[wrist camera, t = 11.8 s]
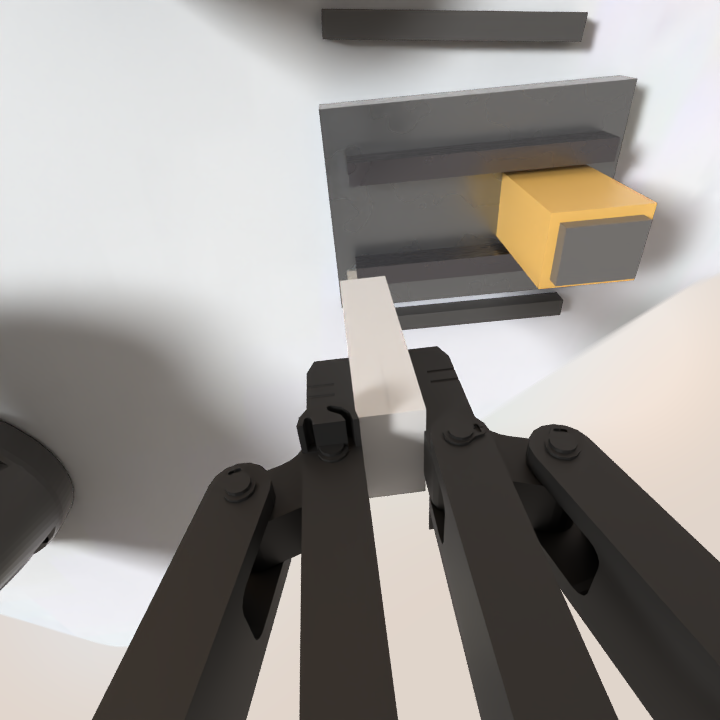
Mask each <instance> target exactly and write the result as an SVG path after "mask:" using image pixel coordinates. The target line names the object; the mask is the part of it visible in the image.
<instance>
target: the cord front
mask: <svg viewBox="0 0 720 720" xmlns="http://www.w3.org/2000/svg"><path fill="white" fill-rule="evenodd" d="M587 15H588V12H523V11H445V10H367V9H322V33H323V39H351V40H457V41H562V42H581V40H582V36H583V31H584V27H585V23H586V19H587Z"/></svg>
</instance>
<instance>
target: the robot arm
mask: <svg viewBox="0 0 720 720" xmlns="http://www.w3.org/2000/svg"><path fill="white" fill-rule="evenodd" d="M340 288H341V296H342V305H343V314H344V323H345V331H346V340H347V349H348V357H349V358H342V359H333V360H325V361H316V362H314V363H313V364H312V366H311V368H310V369H309V371H308V373H307V410H306V411H305V412H304V413H303V414H302V415H301V416H300V417H299V420H298V423H297V431H298V435H299V440H300V444H301V449H302V450H301V451H300V452H299V454H298V455H297V456H296V457H294V458H293V459H292V460H290V461H289V462H287V463H285V464H283V465H280V466H278V467H275V468H273V469H270V470H268V471H267V470H265V469H264V468H263V467H262V466H260V465H256V464H252V463H243V464H237V465H234V466H232V467H229V468H226V469H225V470H224V471H222V472H221V473H220V474H218V475H217V476H216V477H215V478H214V480H213V481H212V482H211V484H210V485H209V487H208V489H207V491H206V493H205V495H204V497H203V499H202V501H201V503H200V505H199V507H198V509H197V511H196V513H195V515H194V517H193V519H192V521H191V523H190V525H189V527H188V529H187V531H186V533H185V535H184V537H183V539H182V541H181V543H180V545H179V547H178V549H177V551H176V553H175V555H174V557H173V559H172V561H171V563H170V565H169V567H168V569H167V571H166V573H165V575H164V577H163V579H162V581H161V583H160V585H159V587H158V589H157V591H156V593H155V595H154V597H153V599H152V601H151V603H150V605H149V607H148V609H147V611H146V613H145V615H144V617H143V619H142V621H141V623H140V625H139V627H138V629H137V631H136V633H135V635H134V637H133V639H132V641H131V643H130V645H129V647H128V649H127V651H126V653H125V655H124V657H123V659H122V661H121V663H120V665H119V667H118V669H117V671H116V673H115V675H114V677H113V679H112V681H111V683H110V685H109V687H108V689H107V691H106V693H105V695H104V697H103V699H102V701H101V703H100V705H99V707H98V709H97V711H96V713H95V715H94V717H93V719H92V720H246V718H247V715H248V711H249V707H250V704H251V701H252V697H253V694H254V690H255V686H256V683H257V679H258V676H259V672H260V669H261V665H262V661H263V658H264V655H265V651H266V647H267V644H268V640H269V637H270V633H271V630H272V626H273V623H274V619H275V615H276V612H277V608H278V605H279V601H280V598H281V594H282V590H283V587H284V583H285V580H286V577H287V573H288V569H289V566H290V562H291V558H292V557H295V556H297V555H299V554H301V633H300V634H301V635H300V637H301V638H300V639H301V640H300V720H398V716H397V708H396V701H395V693H394V686H393V678H392V670H391V663H390V656H389V648H388V640H387V633H386V625H385V618H384V610H383V602H382V594H381V587H380V580H379V571H378V564H377V557H376V548H375V542H374V533H373V526H372V518H371V511H370V503H369V498H373V497H381V496H389V495H397V494H404V493H413V492H420V491H425V480H426V484H427V488H428V491H429V495H430V497H429V529H434V530H435V535H436V538H437V542H438V546H439V550H440V555H441V558H442V563H443V567H444V571H445V575H446V579H447V583H448V587H449V591H450V595H451V599H452V603H453V607H454V611H455V615H456V620H457V624H458V627H459V632H460V636H461V640H462V644H463V648H464V652H465V656H466V660H467V664H468V668H469V672H470V676H471V680H472V684H473V689H474V692H475V697H476V700H477V705H478V709H479V713H480V717H481V720H618V718H617V715H616V713H615V711H614V709H613V706H612V704H611V702H610V700H609V697H608V695H607V693H606V691H605V688H604V686H603V684H602V682H601V679H600V677H599V675H598V673H597V671H596V668H595V666H594V664H593V661H592V659H591V657H590V655H589V652H588V650H587V648H586V646H585V643H584V641H583V639H582V637H581V634H580V632H579V630H578V628H577V625H576V623H575V621H574V619H573V616H572V614H571V612H570V610H569V608H568V606H567V603H566V601H565V599H564V596H563V594H562V592H563V593H564V595H565V596H566V597H567V599H568V600H569V602H570V603H571V604H572V606H573V607H574V609H575V610H576V611H577V613H578V614H579V616H580V617H581V618H582V620H583V621H584V623H585V624H586V625H587V627H588V628H589V630H590V631H591V632H592V634H593V635H594V637H595V638H596V639H597V641H598V642H599V644H600V645H601V646H602V648H603V649H604V651H605V652H606V654H607V655H608V656H609V658H610V659H611V661H612V662H613V663H614V665H615V666H616V668H617V669H618V670H619V672H620V673H621V675H622V676H623V677H624V679H625V680H626V681H627V683H628V684H629V686H630V687H631V689H632V690H633V691H634V693H635V694H636V696H637V697H638V698H639V700H640V701H641V702H642V704H643V705H644V707H645V708H646V710H647V711H648V712H649V714H650V715H651V717H652V718H653V719H654V720H720V562H719V561H718V560H717V559H716V558H715V557H714V556H713V555H712V554H711V553H710V552H708V551H707V550H706V549H705V548H704V547H703V546H702V545H701V544H700V543H699V542H698V541H697V540H696V539H694V537H693V536H692V535H690V534H689V533H688V532H687V531H686V530H685V529H684V528H683V527H682V526H681V525H680V524H679V523H678V522H677V521H676V520H675V519H674V518H673V517H672V516H670V515H669V514H668V513H667V512H666V511H665V510H664V509H663V508H662V507H661V506H660V505H659V504H658V503H657V502H656V501H655V500H654V499H653V498H651V497H650V496H649V495H648V494H647V493H646V492H645V491H644V490H643V489H642V488H641V487H640V486H639V485H638V484H637V483H636V482H634V481H633V480H632V479H631V478H630V477H629V476H628V475H627V474H626V473H625V472H624V471H623V470H622V469H621V468H620V467H619V466H618V465H617V464H616V463H614V461H612V460H611V459H610V458H609V457H608V456H607V455H606V454H605V453H604V452H603V451H602V450H601V449H600V448H599V447H598V446H597V445H596V444H595V443H593V442H592V441H591V440H590V439H589V438H588V437H587V436H585V435H584V434H583V433H581V432H579V431H578V430H576V429H573V428H571V427H568V426H563V425H556V424H552V425H545V426H541V427H539V428H538V429H536V430H534V431H533V433H532V434H531V436H530V437H529V439H527V438H520V437H512V436H506V435H500V434H498V433H495V432H492V431H490V430H489V429H488V428H487V426H486V425H485V424H484V423H483V422H482V421H480V420H479V419H477V418H476V417H475V416H474V414H473V412H472V409H471V407H470V405H469V402H468V400H467V398H466V395H465V393H464V391H463V388H462V386H461V384H460V381H459V380H458V377H457V374H456V372H455V370H454V367H453V365H452V363H451V360H450V358H449V356H448V355H447V354H446V353H445V352H443V351H442V350H441V349H440V348H439V347H437V346H435V347H426V348H418V349H409V350H408V349H407V346H406V342H405V339H404V336H403V333H402V329H401V326H400V323H399V320H398V316H397V313H396V310H395V307H394V303H393V300H392V297H391V294H390V290H389V287H388V284H387V281H386V277H385V276H379V277H370V278H361V279H352V280H343V281H340ZM73 498H74V492H73V486H72V483H71V480H70V478H69V476H68V474H67V472H66V470H65V469H64V467H63V466H62V465H61V463H60V462H59V461H58V460H57V459H56V458H55V457H54V456H53V455H52V454H51V453H50V452H49V451H48V450H47V449H46V448H45V447H43V446H42V445H41V444H40V443H38V442H37V441H36V440H34V439H33V438H31V437H30V436H28V435H26V434H25V433H23V432H21V431H20V430H18V429H16V428H14V427H12V426H10V425H8V424H6V423H4V422H2V421H0V590H1V589H2V588H3V587H4V586H5V585H6V584H7V583H8V582H9V581H10V580H11V579H12V578H13V577H14V576H15V575H16V574H17V573H18V572H19V571H20V570H21V569H22V568H23V566H24V565H25V564H26V563H27V562H28V561H29V559H30V558H31V557H32V555H33V554H35V553H37V552H38V551H40V550H41V549H43V548H44V547H45V546H46V545H47V544H48V543H49V542H50V541H51V540H52V539H53V538H54V537H55V535H56V534H57V532H58V531H59V529H60V527H61V526H62V524H63V522H64V520H65V518H66V516H67V514H68V512H69V511H70V509H71V506H72V503H73ZM560 589H561V590H562V592H561V590H560Z"/></svg>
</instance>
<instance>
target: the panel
mask: <svg viewBox="0 0 720 720" xmlns="http://www.w3.org/2000/svg"><path fill="white" fill-rule="evenodd" d="M636 82H637V78H632V77H626V76H620V75H619V76H608V77H598V78H588V79H578V80H567V81H557V82H547V83H536V84H526V85H516V86H505V87H495V88H485V89H474V90H464V91H454V92H444V93H433V94H423V95H413V96H402V97H392V98H382V99H371V100H361V101H351V102H341V103H330V104H320V105H319V115H320V123H321V132H322V140H323V149H324V158H325V166H326V175H327V183H328V192H329V201H330V209H331V218H332V226H333V235H334V244H335V252H336V261H337V269H338V278H339V287H340V281H343V280H352V279H361V278H370V277H379V276H385V277H386V281H387V284H388V287H389V290H390V294H391V297H392V300H393V303H398V302H409V301H419V300H429V299H440V298H450V297H460V296H471V295H481V294H491V293H502V292H512V291H522V290H533V289H538V288H537V287H536V285H535V284H534V283H533V282H532V280H531V279H530V278H529V277H528V275H527V274H526V273H525V271H524V270H523V269H522V268H521V266H520V265H519V264H518V263H517V261H516V260H515V259H514V258H513V256H512V255H511V254H510V253H509V251H508V250H507V249H506V248H505V246H504V245H503V244H502V242H501V241H500V240H499V239H498V237H497V236H496V233H497V223H498V213H499V203H500V193H501V183H502V173H503V172H511V171H522V170H532V169H542V168H553V167H563V166H573V165H584V164H587V165H588V166H590V167H592V168H594V169H596V170H598V171H599V172H601V173H603V174H605V175H607V176H609V177H610V178H612V179H613V178H614V174H615V170H616V166H617V161H618V157H619V153H620V149H621V145H622V140H623V136H624V132H625V128H626V124H627V120H628V115H629V111H630V107H631V103H632V99H633V94H634V90H635V86H636ZM340 295H341V288H340ZM341 304H342V296H341ZM342 308H343V305H342Z"/></svg>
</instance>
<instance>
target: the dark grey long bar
mask: <svg viewBox="0 0 720 720" xmlns="http://www.w3.org/2000/svg"><path fill="white" fill-rule="evenodd" d="M562 303H563V300H562V298H561V297H560V296H559V295H558V294H557V292H554V293H543V294H533V295H523V296H512V297H502V298H492V299H481V300H471V301H461V302H450V303H440V304H430V305H419V306H409V307H399V308H395V310H396V313H397V316H398V320H399V323H400V326H401V329H402V330H408V329H418V328H429V327H439V326H449V325H460V324H470V323H480V322H491V321H501V320H511V319H522V318H532V317H542V316H553V315H560V313H561V308H562Z"/></svg>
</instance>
